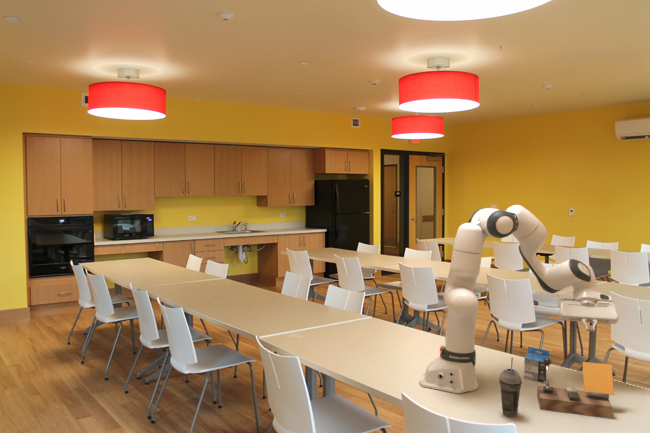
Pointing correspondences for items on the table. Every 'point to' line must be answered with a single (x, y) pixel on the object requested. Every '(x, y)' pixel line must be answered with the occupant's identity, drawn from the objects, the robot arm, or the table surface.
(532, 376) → the label tape box
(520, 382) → the beverage cup
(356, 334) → the table surface
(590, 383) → the orange paddle
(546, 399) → the control panel
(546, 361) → the steel toggle lever
